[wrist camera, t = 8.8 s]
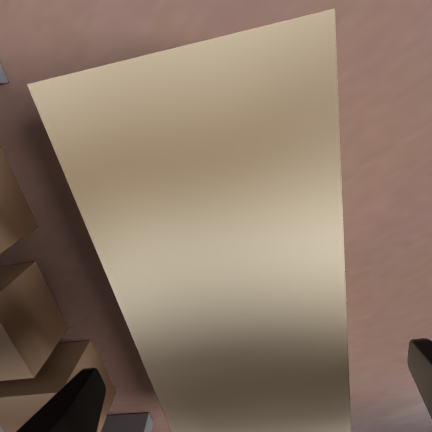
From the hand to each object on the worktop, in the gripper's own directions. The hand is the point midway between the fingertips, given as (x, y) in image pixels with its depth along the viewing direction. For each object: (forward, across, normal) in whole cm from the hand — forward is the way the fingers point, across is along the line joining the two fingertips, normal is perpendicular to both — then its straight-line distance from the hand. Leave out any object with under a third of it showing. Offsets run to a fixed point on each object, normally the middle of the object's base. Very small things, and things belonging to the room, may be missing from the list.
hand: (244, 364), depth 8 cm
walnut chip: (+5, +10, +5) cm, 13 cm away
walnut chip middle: (+5, +11, 0) cm, 12 cm away
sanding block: (+5, 0, 0) cm, 5 cm away
